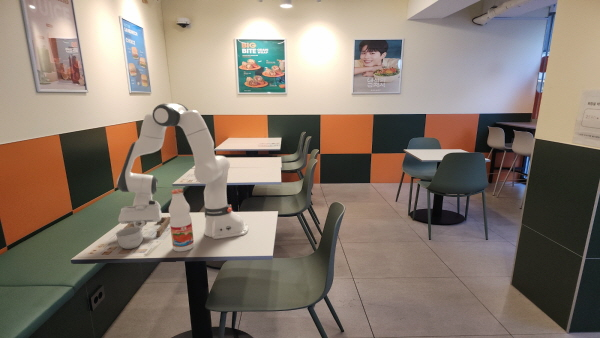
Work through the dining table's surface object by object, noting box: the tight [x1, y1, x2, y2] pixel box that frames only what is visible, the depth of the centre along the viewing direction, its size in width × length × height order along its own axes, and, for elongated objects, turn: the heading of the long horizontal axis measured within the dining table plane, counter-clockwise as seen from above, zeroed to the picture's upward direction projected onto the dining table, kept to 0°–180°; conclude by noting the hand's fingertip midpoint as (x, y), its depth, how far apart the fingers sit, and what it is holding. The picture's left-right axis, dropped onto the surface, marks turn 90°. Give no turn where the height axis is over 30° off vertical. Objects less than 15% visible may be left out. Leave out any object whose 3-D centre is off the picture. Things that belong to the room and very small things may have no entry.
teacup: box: [115, 225, 144, 250], centre depth 158 cm, size 14×11×8 cm
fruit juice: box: [168, 188, 195, 253], centre depth 152 cm, size 9×9×28 cm
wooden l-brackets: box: [123, 216, 171, 237], centre depth 177 cm, size 20×20×3 cm
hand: (138, 230), depth 166 cm, fingers closed, pressing on teacup
